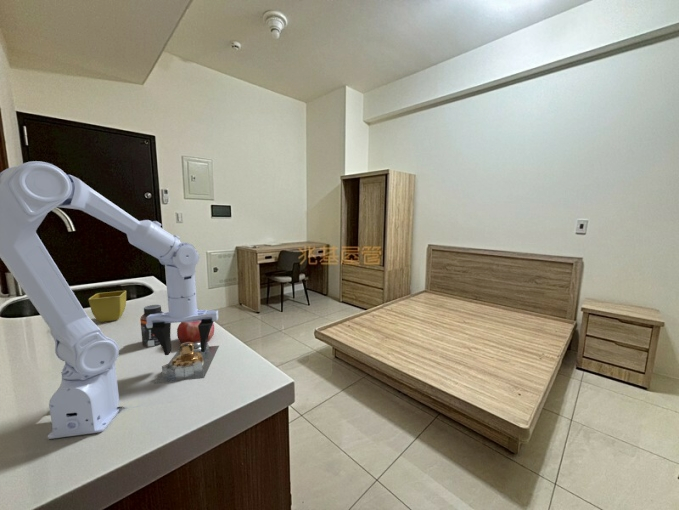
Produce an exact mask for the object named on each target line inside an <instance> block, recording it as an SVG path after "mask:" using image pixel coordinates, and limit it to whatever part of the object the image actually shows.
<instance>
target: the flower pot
mask: <svg viewBox="0 0 679 510" xmlns="http://www.w3.org/2000/svg"><path fill="white" fill-rule="evenodd" d="M88 303H89V307H90V310H91V313H92V315H93V316H94V319H96V320H97V321H99V322H100V323H103V322H104V323H105V322H111V321H112V322H113V321H118V320H120V318H121V317H122V316H123V314H124V313H125V309H126V305H127V290H116V291H109V292H108V291H107V292H97V293H95V294H94V295H92V296H90V297H89V298H88Z"/></svg>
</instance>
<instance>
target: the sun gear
mask: <svg viewBox="0 0 679 510" xmlns="http://www.w3.org/2000/svg"><path fill="white" fill-rule="evenodd" d="M208 343H209V342H207V348H206V350H205V352H201V342H200V341H196V342H193V346H194V353H197V352H199V353H201V355H202V356H203V355H205V353H206V352H209V346H210V345H209V344H208Z"/></svg>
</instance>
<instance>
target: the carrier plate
mask: <svg viewBox="0 0 679 510" xmlns="http://www.w3.org/2000/svg"><path fill="white" fill-rule="evenodd" d="M219 347H220V345H211V346H210V345H209V352H206V353H205V355H203V363H202V370H203V372H202V373H200V374H198V375H195V376H192V377H189V378H184V379H167V378H165V377H163V374H162V372H160V374H159V375H158V377H157V378H156V379H155V381H154V382H153V384H160V383H161V384H163V383H169V382H180V381H188V380H189V381H190V380H199V379H205V378H206V376H207V373H208V371H209V368H210V366H211V365H212V362H213V360H214V358H215V356H216V354H217V351H218V349H219ZM179 355H180V348H179V349H178V350H177V351H176V353H175V354H174V355H173V357H172V358H171V360H170V361H169V362H168V363H167V364H169V365H171V366H173V365H172V361H173V359H177V356H179Z"/></svg>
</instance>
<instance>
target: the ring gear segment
mask: <svg viewBox="0 0 679 510" xmlns="http://www.w3.org/2000/svg"><path fill="white" fill-rule="evenodd" d="M202 372H203V370H202V362H200V361H198V362H195V363H192V364H189V365H184V366H171V365H169V364H168V363H166V364H164V365H161V373H162V374H163V377H165V378H167V379H184V378H189V377H192V376H195V375H198V374H200V373H202Z"/></svg>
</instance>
